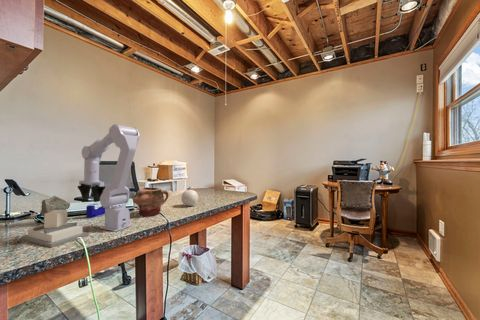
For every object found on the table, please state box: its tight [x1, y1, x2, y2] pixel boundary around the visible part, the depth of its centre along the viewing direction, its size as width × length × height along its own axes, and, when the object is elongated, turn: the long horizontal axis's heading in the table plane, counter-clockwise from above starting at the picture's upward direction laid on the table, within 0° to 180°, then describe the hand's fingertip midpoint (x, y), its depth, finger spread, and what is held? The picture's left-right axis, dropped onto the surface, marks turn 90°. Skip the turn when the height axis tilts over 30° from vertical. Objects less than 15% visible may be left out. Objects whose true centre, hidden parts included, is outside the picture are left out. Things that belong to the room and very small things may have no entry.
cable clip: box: [85, 204, 105, 219], centre depth 111 cm, size 12×4×6 cm, turn 173°
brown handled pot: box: [133, 187, 169, 217], centre depth 115 cm, size 20×12×14 cm, turn 150°
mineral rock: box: [39, 195, 71, 216], centre depth 109 cm, size 13×11×10 cm
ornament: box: [181, 186, 199, 207], centre depth 136 cm, size 10×10×12 cm
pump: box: [43, 209, 68, 228], centre depth 80 cm, size 4×8×5 cm, turn 11°
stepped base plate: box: [20, 222, 90, 248], centre depth 80 cm, size 18×12×4 cm, turn 69°
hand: (91, 200), depth 101 cm, fingers open, 7 cm apart
